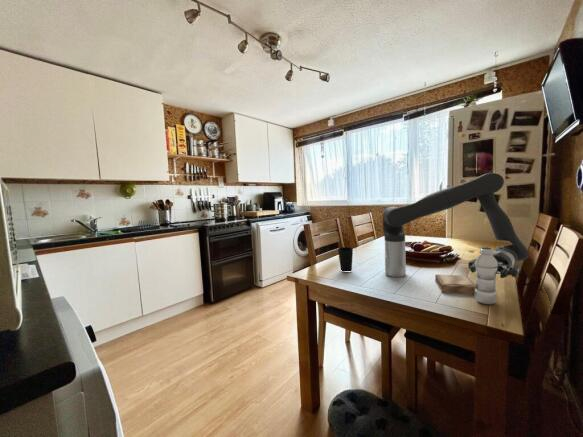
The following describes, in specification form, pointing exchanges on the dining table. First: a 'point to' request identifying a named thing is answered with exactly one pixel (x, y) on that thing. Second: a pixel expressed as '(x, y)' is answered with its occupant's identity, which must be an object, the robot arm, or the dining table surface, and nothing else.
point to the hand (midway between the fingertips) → (486, 272)
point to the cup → (345, 258)
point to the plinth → (455, 284)
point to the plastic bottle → (486, 276)
